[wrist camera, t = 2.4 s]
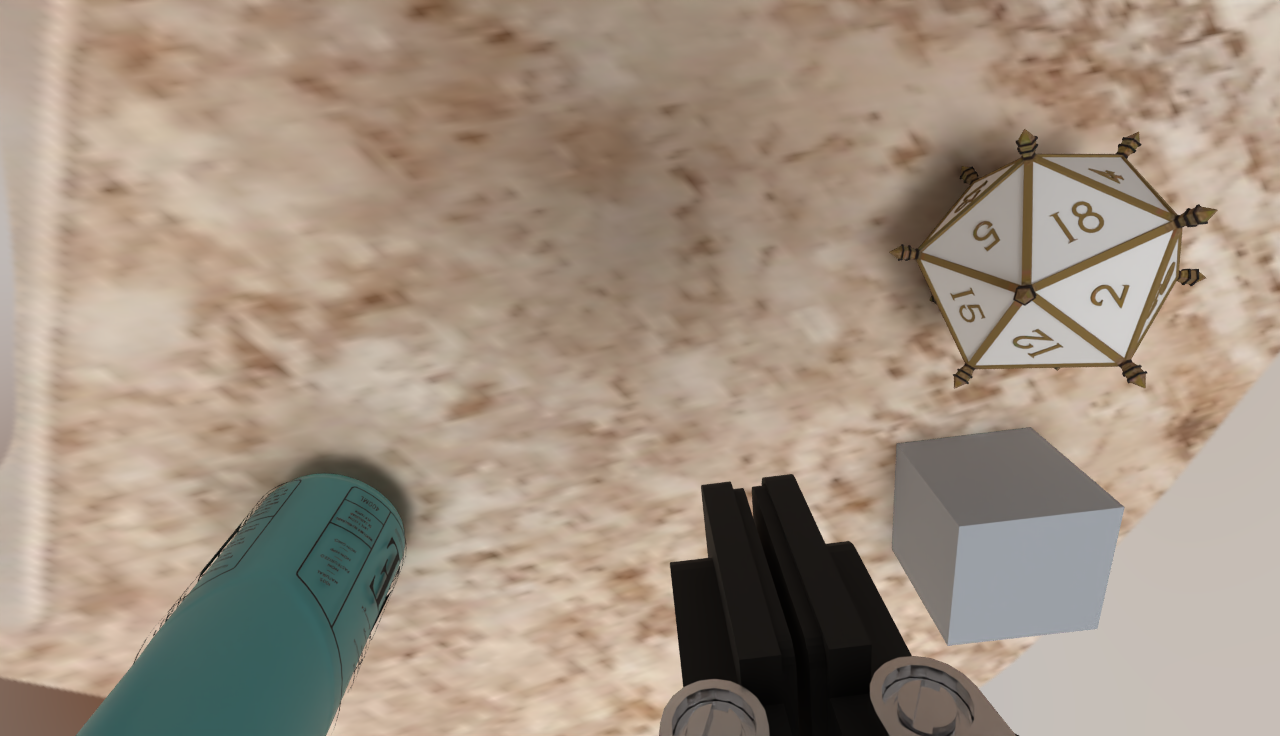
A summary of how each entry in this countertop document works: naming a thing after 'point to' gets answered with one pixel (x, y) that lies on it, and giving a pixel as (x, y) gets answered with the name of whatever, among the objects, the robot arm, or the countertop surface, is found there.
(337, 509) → the beverage bottle
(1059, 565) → the slate block
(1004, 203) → the game die
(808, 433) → the countertop surface
